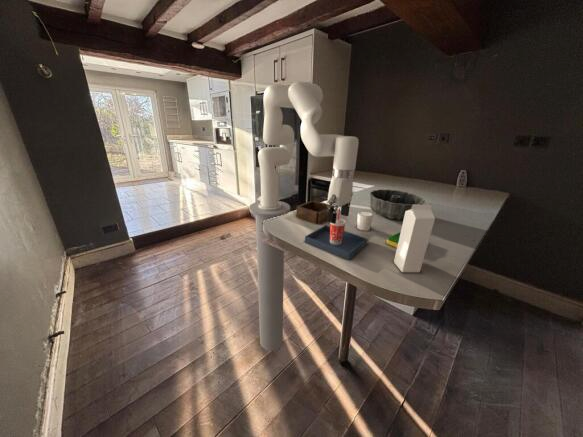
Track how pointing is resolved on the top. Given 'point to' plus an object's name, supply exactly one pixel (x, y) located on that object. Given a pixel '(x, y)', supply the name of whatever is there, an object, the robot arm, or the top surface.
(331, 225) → the beverage cup
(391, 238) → the dish sponge
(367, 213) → the white cylinder
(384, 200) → the bundt pan
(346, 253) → the tray
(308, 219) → the basket
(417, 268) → the milk
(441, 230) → the top surface
